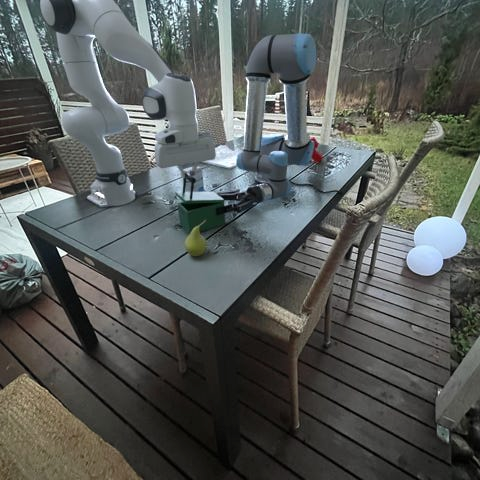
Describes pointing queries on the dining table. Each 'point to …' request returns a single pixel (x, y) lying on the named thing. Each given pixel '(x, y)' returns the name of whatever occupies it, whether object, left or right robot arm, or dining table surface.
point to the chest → (200, 215)
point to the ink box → (199, 180)
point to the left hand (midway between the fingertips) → (188, 176)
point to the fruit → (196, 242)
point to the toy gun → (316, 155)
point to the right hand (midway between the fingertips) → (210, 206)
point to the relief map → (224, 157)
